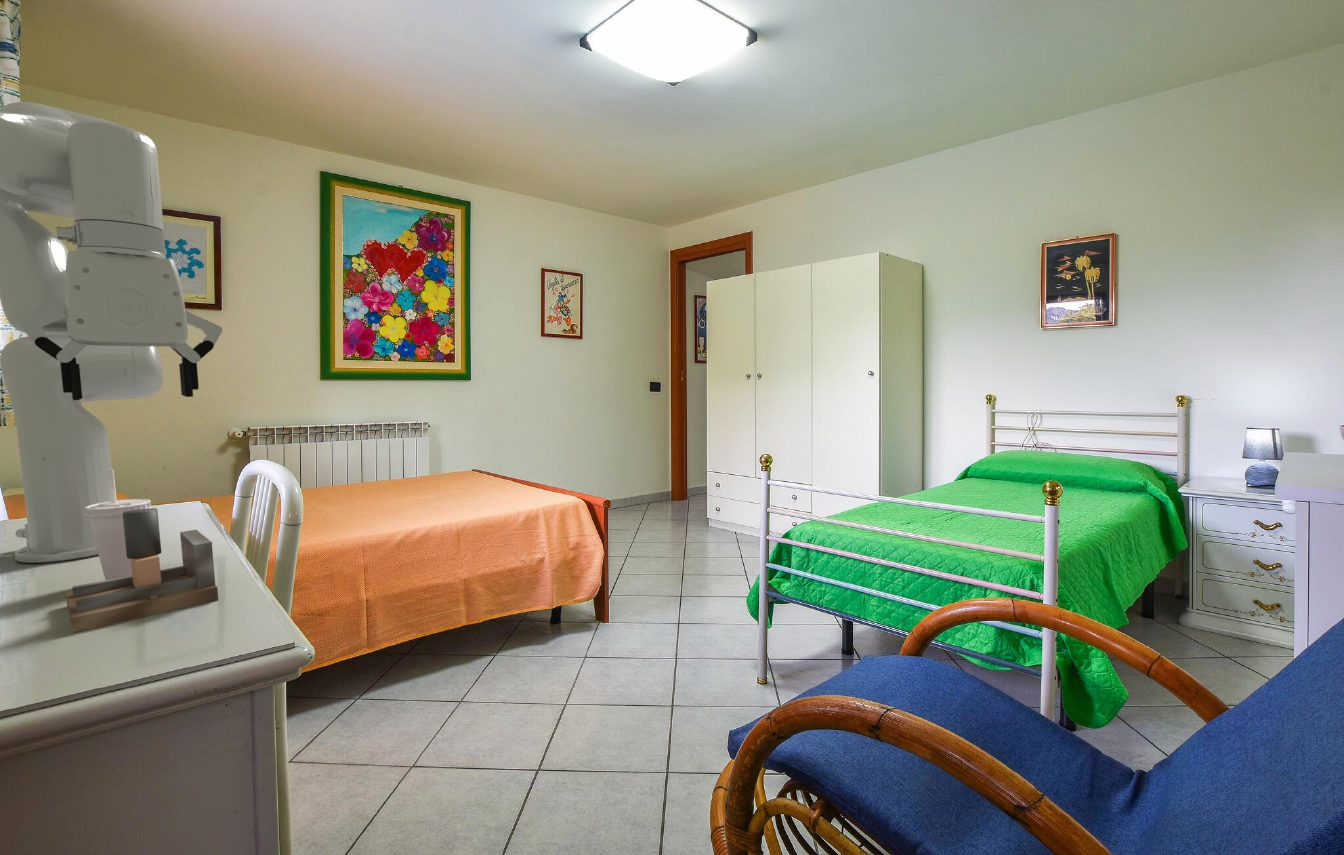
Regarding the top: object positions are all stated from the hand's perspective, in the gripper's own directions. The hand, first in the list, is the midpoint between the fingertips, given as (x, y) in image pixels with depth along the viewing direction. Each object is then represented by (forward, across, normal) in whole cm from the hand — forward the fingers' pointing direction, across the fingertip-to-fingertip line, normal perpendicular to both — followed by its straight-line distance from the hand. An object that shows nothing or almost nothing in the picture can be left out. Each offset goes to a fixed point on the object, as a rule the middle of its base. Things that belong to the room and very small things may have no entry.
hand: (134, 397), depth 72 cm
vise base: (+23, -1, -4) cm, 23 cm away
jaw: (+21, -1, -4) cm, 21 cm away
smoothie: (+24, -2, +9) cm, 25 cm away
